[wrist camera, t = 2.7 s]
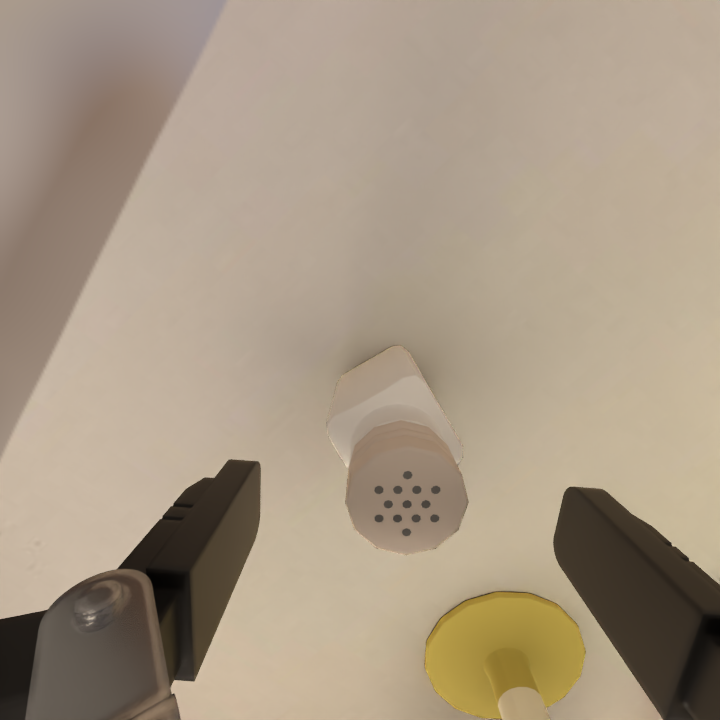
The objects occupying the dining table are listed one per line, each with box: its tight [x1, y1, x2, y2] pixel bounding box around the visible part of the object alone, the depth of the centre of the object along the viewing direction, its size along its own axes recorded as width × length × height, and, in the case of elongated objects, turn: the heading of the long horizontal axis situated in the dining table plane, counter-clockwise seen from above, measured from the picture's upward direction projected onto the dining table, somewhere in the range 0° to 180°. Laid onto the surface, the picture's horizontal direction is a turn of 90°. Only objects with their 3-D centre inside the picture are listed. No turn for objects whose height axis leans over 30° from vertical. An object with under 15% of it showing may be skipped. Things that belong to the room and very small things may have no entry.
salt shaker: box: [326, 345, 469, 555], centre depth 14 cm, size 4×4×10 cm
